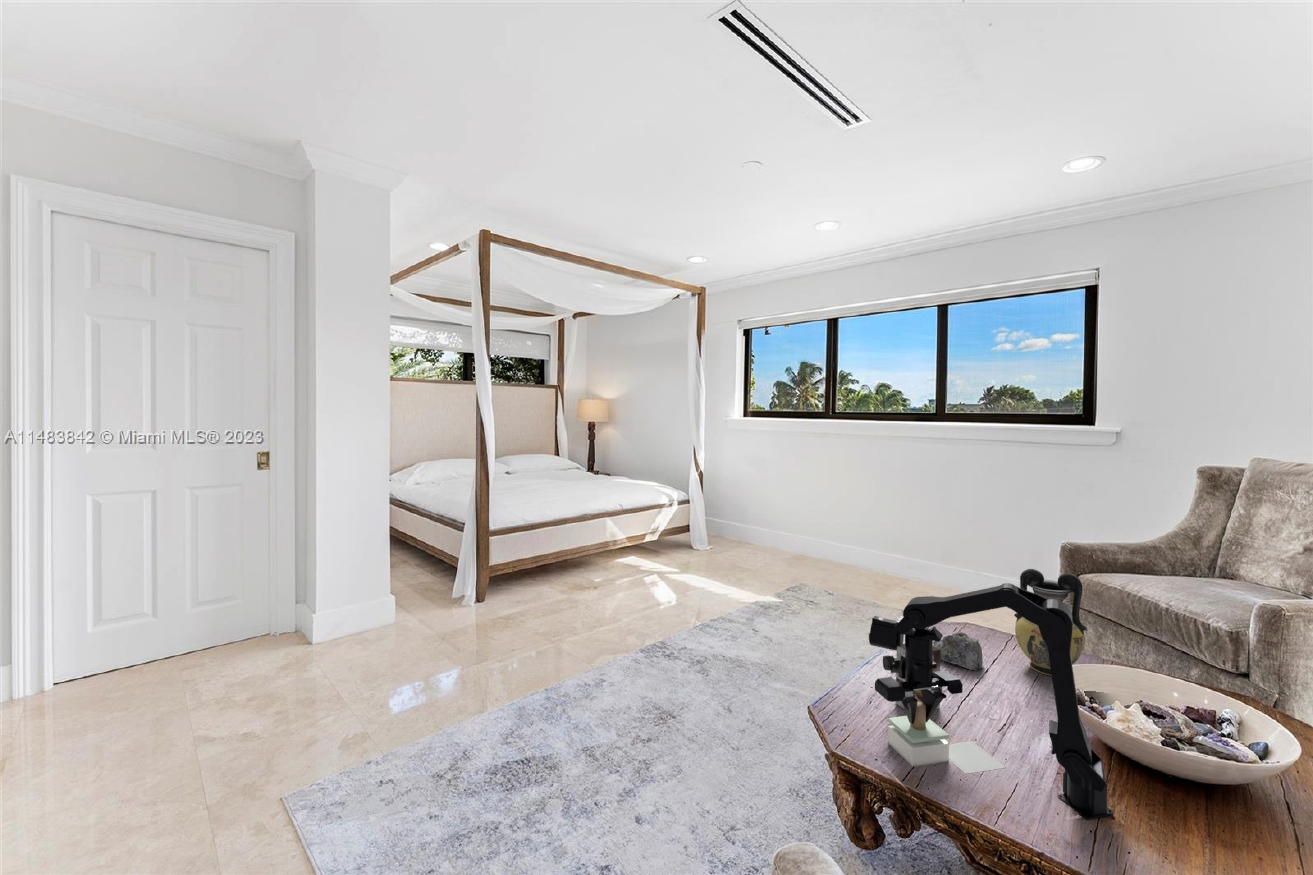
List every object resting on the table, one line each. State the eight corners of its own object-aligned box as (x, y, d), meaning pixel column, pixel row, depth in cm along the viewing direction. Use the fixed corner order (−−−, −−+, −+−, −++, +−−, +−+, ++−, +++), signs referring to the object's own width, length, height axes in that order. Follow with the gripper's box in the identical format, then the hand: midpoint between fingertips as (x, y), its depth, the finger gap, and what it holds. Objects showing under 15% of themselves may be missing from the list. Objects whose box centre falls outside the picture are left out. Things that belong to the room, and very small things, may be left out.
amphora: (1015, 675, 165) (1017, 574, 164) (1011, 653, 180) (1013, 560, 178) (1090, 689, 156) (1092, 582, 155) (1080, 664, 171) (1082, 567, 170)
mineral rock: (927, 656, 178) (928, 625, 178) (955, 651, 181) (955, 621, 181) (960, 674, 166) (960, 641, 165) (989, 669, 169) (989, 636, 168)
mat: (1005, 769, 123) (1005, 767, 122) (965, 775, 121) (965, 773, 121) (971, 742, 132) (971, 741, 132) (934, 748, 130) (934, 746, 130)
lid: (949, 738, 125) (949, 712, 124) (912, 743, 123) (912, 717, 123) (922, 716, 134) (922, 692, 133) (888, 721, 132) (888, 697, 132)
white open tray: (948, 763, 125) (949, 743, 125) (912, 768, 123) (912, 748, 123) (922, 739, 134) (922, 721, 134) (888, 744, 132) (888, 725, 132)
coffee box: (911, 715, 144) (912, 654, 144) (894, 703, 151) (895, 643, 150) (941, 710, 147) (941, 649, 146) (923, 698, 153) (923, 639, 152)
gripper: (931, 637, 137) (931, 699, 138) (861, 644, 133) (861, 708, 134) (964, 656, 126) (964, 724, 127) (889, 665, 123) (889, 735, 123)
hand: (918, 722), depth 128 cm, fingers closed on lid, 3 cm apart
